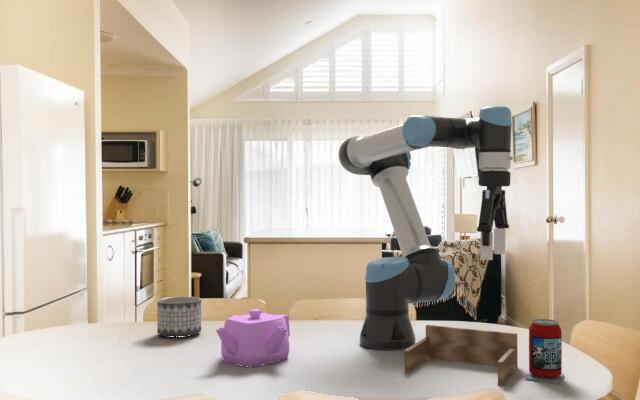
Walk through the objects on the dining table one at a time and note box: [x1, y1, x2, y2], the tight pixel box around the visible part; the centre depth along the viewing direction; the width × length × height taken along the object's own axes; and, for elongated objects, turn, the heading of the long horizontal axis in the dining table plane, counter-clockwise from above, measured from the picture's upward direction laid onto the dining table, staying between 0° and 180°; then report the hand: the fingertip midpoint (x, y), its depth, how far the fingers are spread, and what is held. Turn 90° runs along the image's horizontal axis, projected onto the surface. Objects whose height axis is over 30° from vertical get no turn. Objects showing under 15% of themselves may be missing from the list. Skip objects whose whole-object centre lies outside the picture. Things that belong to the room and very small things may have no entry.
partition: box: [403, 324, 518, 386], centre depth 142 cm, size 22×16×8 cm
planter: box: [156, 296, 202, 337], centre depth 181 cm, size 13×13×10 cm
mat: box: [525, 372, 565, 385], centre depth 135 cm, size 7×7×1 cm
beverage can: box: [528, 318, 563, 379], centre depth 135 cm, size 7×7×12 cm
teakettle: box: [215, 308, 291, 368], centre depth 153 cm, size 17×17×12 cm
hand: (493, 256), depth 151 cm, fingers open, 13 cm apart
